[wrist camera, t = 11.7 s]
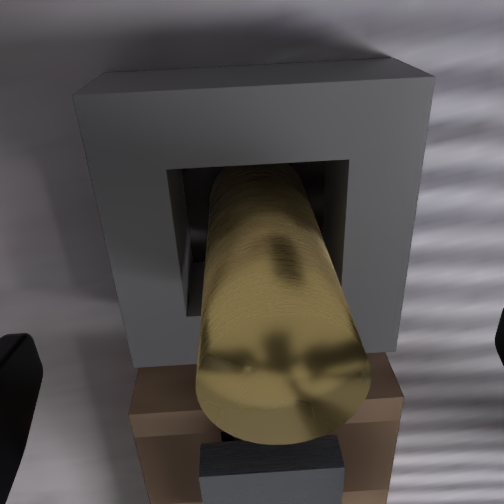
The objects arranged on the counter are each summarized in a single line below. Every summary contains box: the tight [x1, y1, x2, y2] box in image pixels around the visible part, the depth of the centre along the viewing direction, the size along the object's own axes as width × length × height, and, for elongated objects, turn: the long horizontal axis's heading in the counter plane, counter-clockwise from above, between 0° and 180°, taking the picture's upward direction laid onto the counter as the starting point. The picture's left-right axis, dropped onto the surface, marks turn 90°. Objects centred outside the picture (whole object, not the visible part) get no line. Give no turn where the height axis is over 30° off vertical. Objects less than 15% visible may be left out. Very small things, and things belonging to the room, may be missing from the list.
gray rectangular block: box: [199, 434, 345, 504], centre depth 17 cm, size 4×4×5 cm
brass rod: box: [196, 163, 371, 445], centre depth 12 cm, size 3×3×8 cm
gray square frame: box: [72, 58, 435, 368], centre depth 14 cm, size 8×8×3 cm
